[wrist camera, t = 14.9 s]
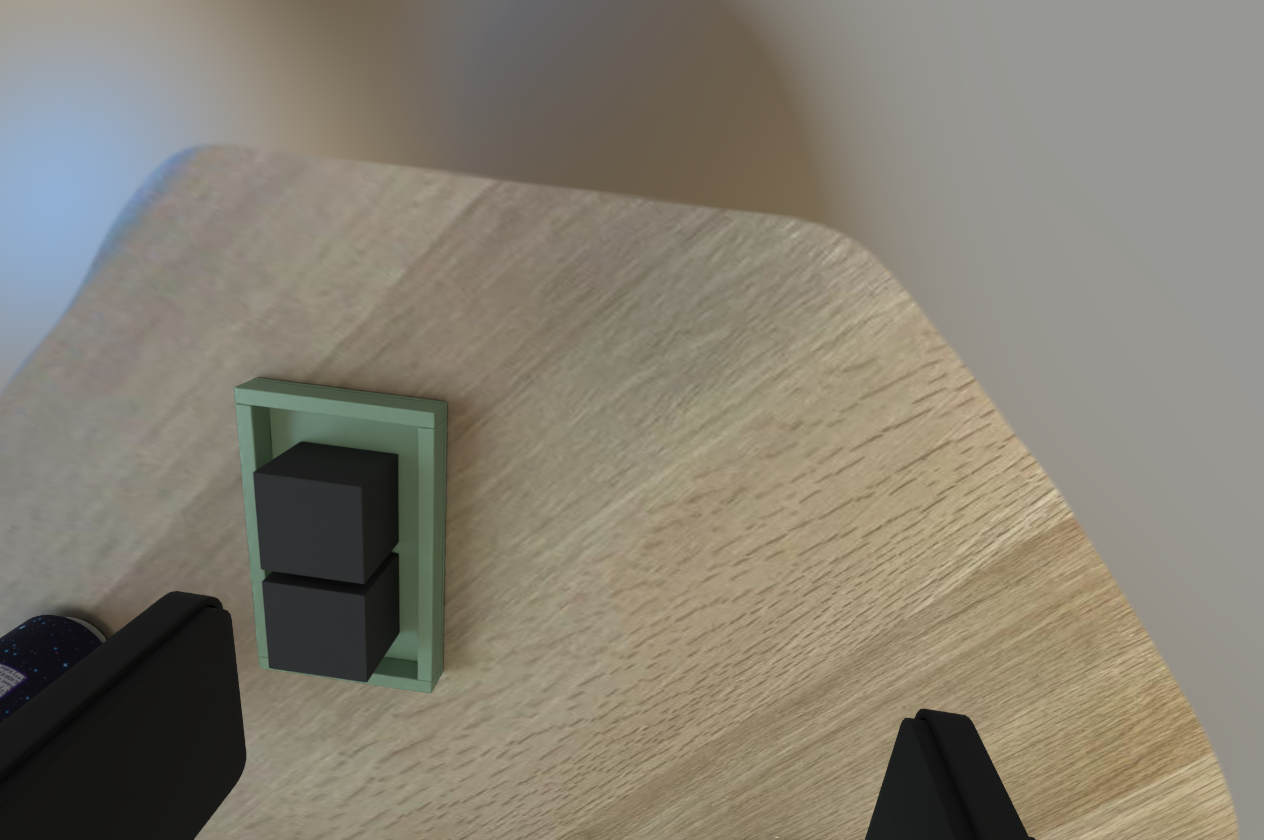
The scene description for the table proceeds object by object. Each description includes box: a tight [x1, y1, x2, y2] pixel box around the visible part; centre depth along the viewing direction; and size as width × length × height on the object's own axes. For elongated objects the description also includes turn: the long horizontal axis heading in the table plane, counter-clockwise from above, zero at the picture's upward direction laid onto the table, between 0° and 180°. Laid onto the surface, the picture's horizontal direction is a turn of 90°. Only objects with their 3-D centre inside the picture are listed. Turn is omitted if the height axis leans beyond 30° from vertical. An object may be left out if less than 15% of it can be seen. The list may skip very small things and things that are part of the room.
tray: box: [234, 378, 447, 693], centre depth 35 cm, size 16×10×2 cm, turn 174°
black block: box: [262, 552, 400, 683], centre depth 35 cm, size 5×5×4 cm
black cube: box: [253, 441, 399, 584], centre depth 33 cm, size 5×5×4 cm
